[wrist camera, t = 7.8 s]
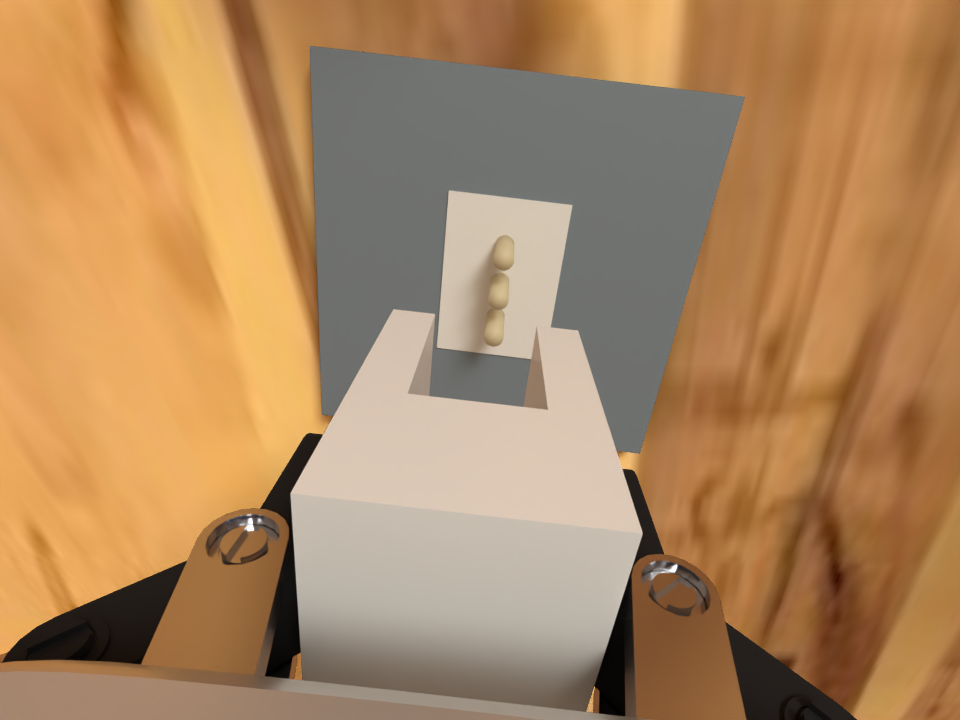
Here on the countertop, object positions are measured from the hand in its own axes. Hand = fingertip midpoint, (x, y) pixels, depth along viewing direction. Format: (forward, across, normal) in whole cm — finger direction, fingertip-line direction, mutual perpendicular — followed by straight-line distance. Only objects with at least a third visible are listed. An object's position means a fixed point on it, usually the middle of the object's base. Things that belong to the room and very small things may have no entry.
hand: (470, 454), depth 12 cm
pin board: (+13, 0, 0) cm, 14 cm away
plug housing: (+1, 0, 0) cm, 1 cm away
